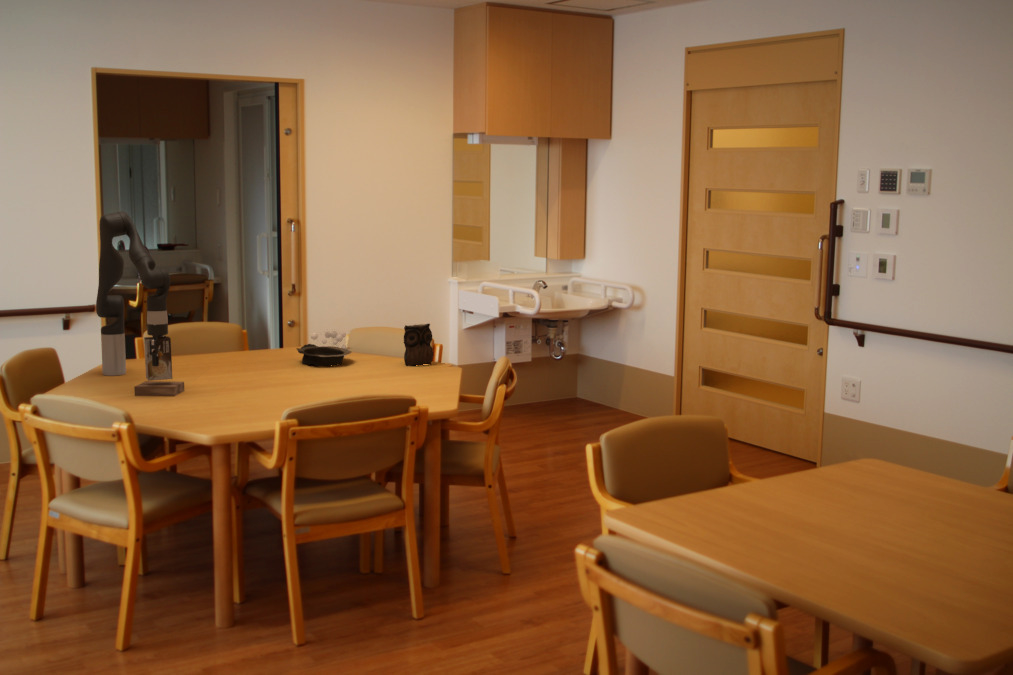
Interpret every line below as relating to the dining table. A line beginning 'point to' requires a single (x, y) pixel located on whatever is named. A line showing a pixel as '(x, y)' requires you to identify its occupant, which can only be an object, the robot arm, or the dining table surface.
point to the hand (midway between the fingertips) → (158, 364)
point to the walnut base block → (159, 388)
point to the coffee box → (164, 360)
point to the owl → (418, 345)
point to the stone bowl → (322, 355)
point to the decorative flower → (338, 337)
